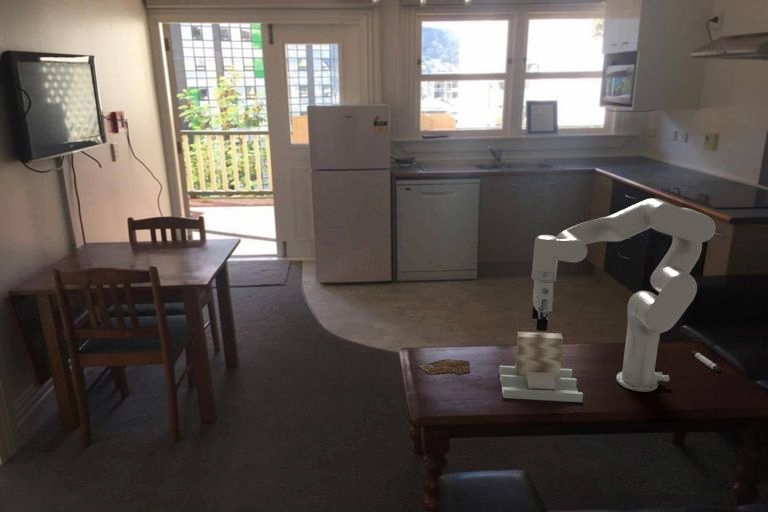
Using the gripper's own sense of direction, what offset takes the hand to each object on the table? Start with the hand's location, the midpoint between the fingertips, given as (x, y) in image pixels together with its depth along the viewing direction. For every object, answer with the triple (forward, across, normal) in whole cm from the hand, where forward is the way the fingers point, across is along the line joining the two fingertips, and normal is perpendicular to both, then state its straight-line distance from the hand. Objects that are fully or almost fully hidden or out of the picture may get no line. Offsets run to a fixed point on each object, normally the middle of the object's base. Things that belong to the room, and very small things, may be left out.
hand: (539, 324), depth 179 cm
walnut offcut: (+20, -8, -1) cm, 21 cm away
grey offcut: (+17, -8, -1) cm, 19 cm away
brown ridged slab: (+22, +8, +26) cm, 35 cm away
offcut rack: (+21, -4, -1) cm, 21 cm away
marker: (+20, +22, -63) cm, 69 cm away
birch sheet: (+20, 0, -1) cm, 20 cm away
